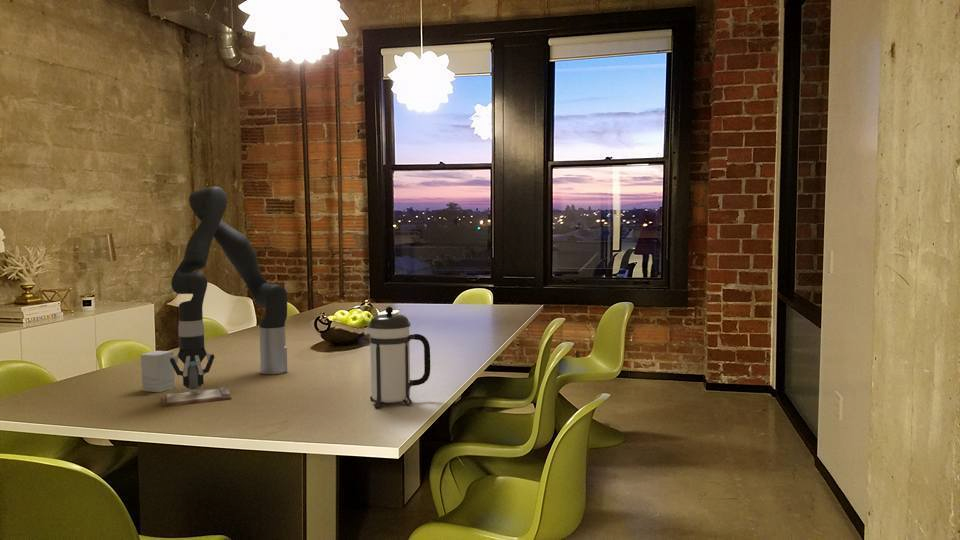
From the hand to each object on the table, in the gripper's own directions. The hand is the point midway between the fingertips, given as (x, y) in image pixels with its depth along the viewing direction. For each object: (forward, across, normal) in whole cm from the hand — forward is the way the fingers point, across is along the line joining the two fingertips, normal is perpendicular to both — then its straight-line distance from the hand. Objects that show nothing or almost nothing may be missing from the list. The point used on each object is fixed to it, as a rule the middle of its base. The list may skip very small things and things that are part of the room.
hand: (193, 386), depth 219 cm
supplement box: (+4, +10, -16) cm, 20 cm away
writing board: (+3, -1, +2) cm, 4 cm away
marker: (+2, 0, 0) cm, 2 cm away
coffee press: (+4, -56, +36) cm, 67 cm away
